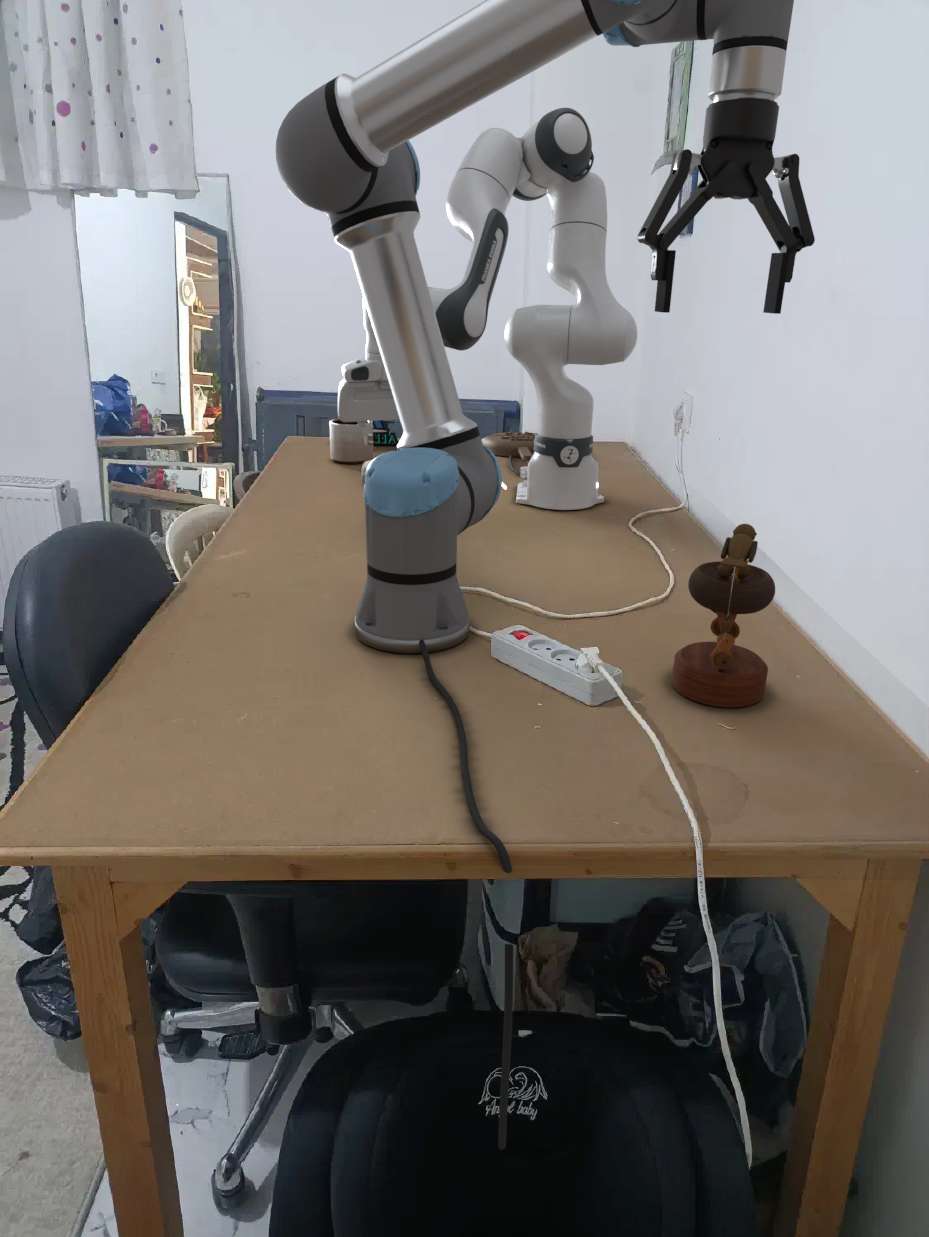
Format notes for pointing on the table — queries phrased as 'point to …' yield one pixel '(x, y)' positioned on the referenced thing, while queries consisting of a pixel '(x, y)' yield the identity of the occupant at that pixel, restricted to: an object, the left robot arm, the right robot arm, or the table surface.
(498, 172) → the right robot arm
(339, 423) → the planter
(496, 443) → the ice cream bar
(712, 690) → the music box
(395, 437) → the decorative sign
